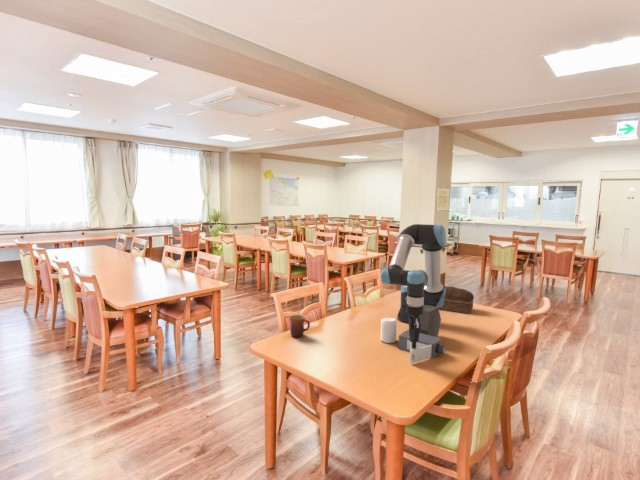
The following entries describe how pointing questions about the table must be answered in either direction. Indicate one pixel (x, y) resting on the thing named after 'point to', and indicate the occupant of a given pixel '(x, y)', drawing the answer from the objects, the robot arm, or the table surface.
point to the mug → (298, 325)
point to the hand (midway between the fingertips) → (413, 353)
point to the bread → (457, 300)
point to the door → (421, 354)
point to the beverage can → (388, 330)
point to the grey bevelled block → (430, 321)
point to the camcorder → (422, 343)
